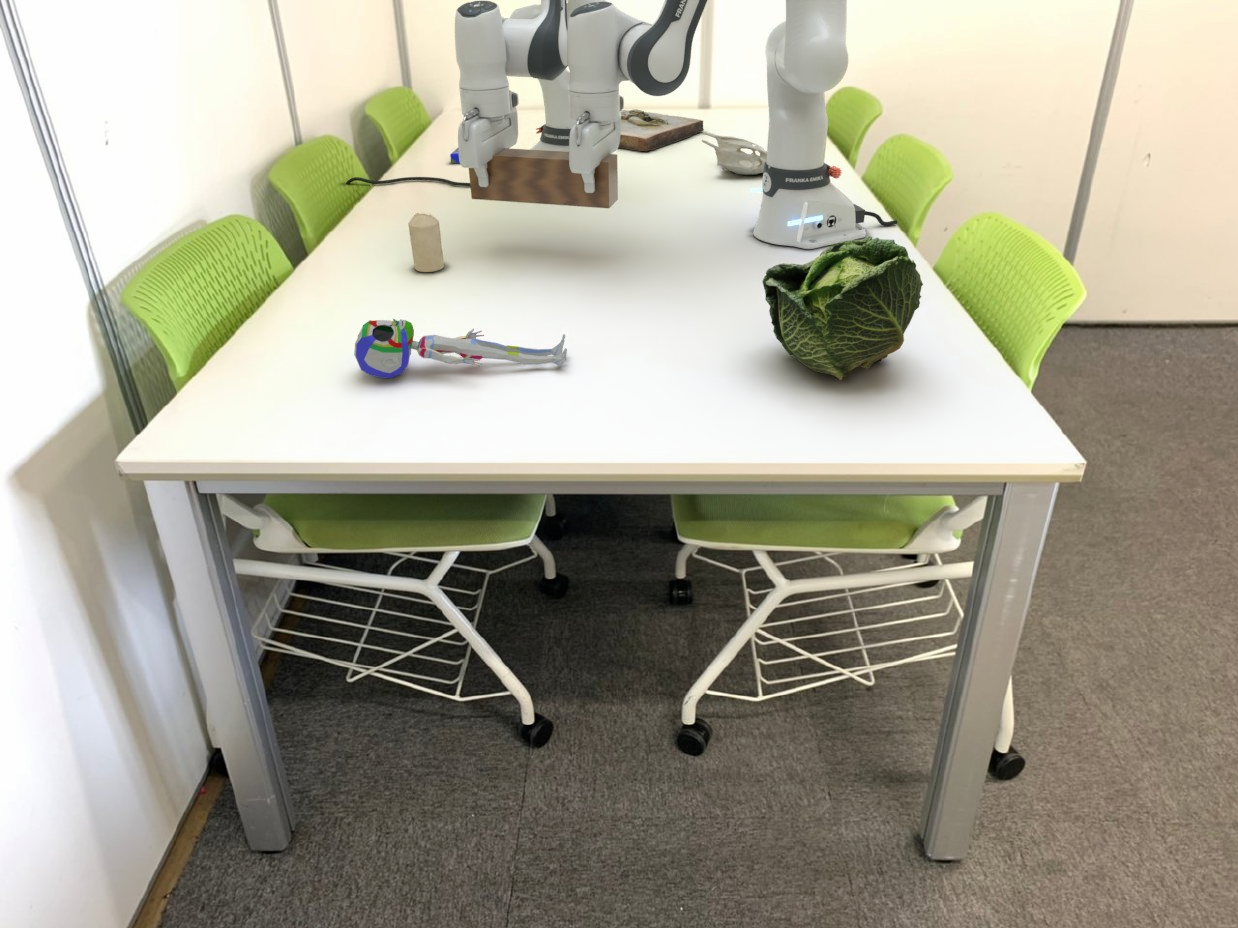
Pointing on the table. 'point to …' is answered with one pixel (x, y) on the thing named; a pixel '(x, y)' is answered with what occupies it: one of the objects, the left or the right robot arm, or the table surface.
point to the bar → (545, 179)
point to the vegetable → (844, 304)
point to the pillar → (455, 156)
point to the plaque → (654, 129)
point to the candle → (426, 243)
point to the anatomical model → (738, 155)
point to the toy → (435, 349)
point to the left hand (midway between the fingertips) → (492, 180)
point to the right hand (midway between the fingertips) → (596, 186)
